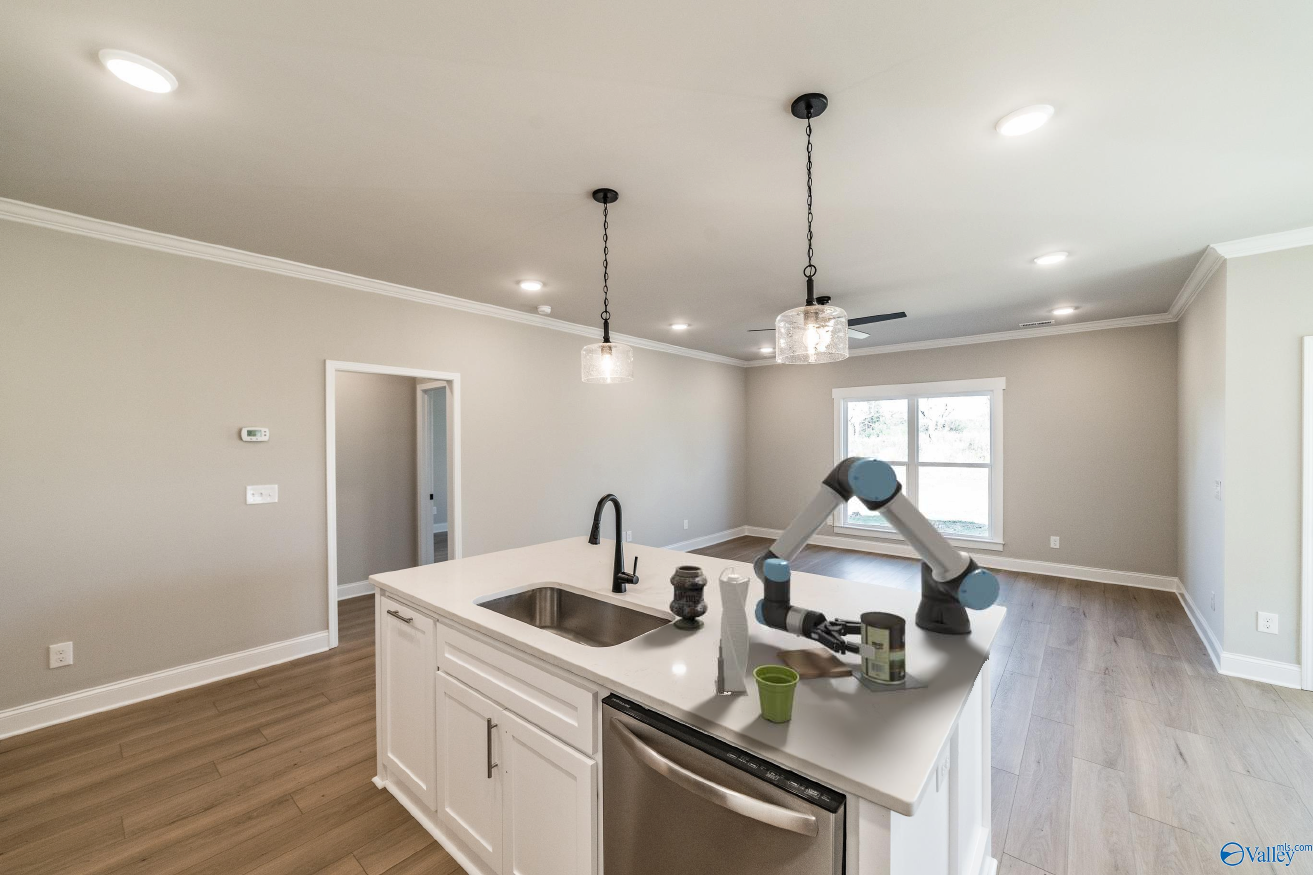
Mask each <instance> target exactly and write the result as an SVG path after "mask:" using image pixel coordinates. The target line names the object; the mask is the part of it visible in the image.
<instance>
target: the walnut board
mask: <svg viewBox="0 0 1313 875" xmlns="http://www.w3.org/2000/svg"><path fill="white" fill-rule="evenodd" d="M776 657H778V660H779V659H780V661H781V662H782V663H783V664H784V665H785V667H786V668H789V669H792V670H794V671H795V672H796V673H797V674H798V675H799V680H803V679H816V678H826V677H827V678H828V677H829V678H831V677H840V676H853V675H852V669H851V668H849V667H848V666H847V665H848V664H846V663H844V661H842V660H841V659H840V658H839V657H837V656H836V655H835V654H834V653H832V652H831V650H829V649H828V648H827V647H819V648H818V647H817V648H803V649H790V650H777V651H776Z"/></svg>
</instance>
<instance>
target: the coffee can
mask: <svg viewBox="0 0 1313 875" xmlns="http://www.w3.org/2000/svg"><path fill="white" fill-rule="evenodd" d="M859 616H860V617H859V618H860V621H861V635H860V643H862V644H865V645H869V646H872V647H875V659H870V658H866V657H863V656H861V658H860V659H861V662H860V664H861V673H862V675H863V676H864V677H865V678H867V679H869V680H871V681H874V682H877V683H882V684H889V685H890V684H891V685H894V684H901V683H904V682H905V681H906V672H907V668H906V667H907V666H906V665H907V664H906V663H907V662H906V624H907V621H906V619H905V618H904V617H902V616H900V615H897V614H894V613H890V612H883V611H867V612H863V613H861V614H860V615H859Z"/></svg>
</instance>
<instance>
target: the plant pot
mask: <svg viewBox="0 0 1313 875" xmlns="http://www.w3.org/2000/svg"><path fill="white" fill-rule="evenodd" d="M752 674H753V677H754V679H755V683H756V686H757V689H758V695H759V703H760V710H761V716H762V717H763V718H764V719H765V720H770V721H771V722H774V723H786V722H788V720H790V719H791V718H792V716H793V715H792V712H793V706H794V698H795V692H796V688H797V684H798V682H799V681H800V679H799V675H798V674H797V673H796V672H795V671H794V670H792V669H789V668H788V667H787V666H782V665H775V664H773V665H771V664H769V665H761V666H759V667H756V668H755V669H754V670H753V672H752Z"/></svg>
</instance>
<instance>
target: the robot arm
mask: <svg viewBox="0 0 1313 875" xmlns="http://www.w3.org/2000/svg"><path fill="white" fill-rule="evenodd" d="M897 477H898V476H897V474H896V472H895V469H894V468H893V467H892V465H890V464H889V463H888V462H886V461H884V460H882V459H879V458H878V457H877V458H876V457H874V456H873V457H871V456H867V457H862V456H849V457H846V458H844V459H842V460H841V461H839V463H837V464H836V465H835V466H834V468H832V470H830V472H829V473H828V475H827V476H826V477H825V478H824V479H823V481H822V482H820V489H819V490H818V492H816V494H815V495H814V496H813V497H812V498H811V500H810V501H808V503H807V504H806V505H805V507H804V508H803V509H801V511H800V512H799V513H798V515H797V516H796V517H795V518H794V519H793V520H792V522H791V523H789V525H788V526H787V528H786V529H785V530H784V531H783V532H782V533H781V534H780V536H779V537H778V538H777V539H776V540H775V542H774V543H772V545H771V546H770V547H769V549H767V550H766V552H765V553H764V554H761V555H758V556H757V557H756V558H755V559H754V560H753V565H752V568H753V571H754V573H755V576H756V577H757V579H759V581H761V583H762V585H763V597H762V598H760V599H758V601H757V602H756V604H755V609H754V617H755V619H756V621H757V623H759V624H760V625H763V626H765V627H768V628H769V629H774V630H777V631H778V630H779V631H780V632H781V631H782V632H785V633H789V634H792V635H794V636H796V637H797V638H800V637H802V638H805V639H807V640H810V641H813V642H817V643H819V644H821V645H822V646H823V647H824V648H826V649H828V650H829V651H832V652H834V653H836V654H840V655H842V656H845V655H847V653H850V654H854V655H858V656H863V657H866V658H870V659H875V647H872V646H869V645H865V644H862V643H861V642H858V641H855V640H851V639H847V640H845V639H844V638H843V637H846V636H847V635H852V636H854V635H855V636H861V620H850V619H843V618H838V617H835V618H834V620H827V618H826V616H825V614H824V613H823V612H820V611H817V610H816V611H815V610H812V609H811V610H810V609H808V608H805V607H801V606H796V605H793V604H791V577H792V576H791V575H792V572H791V564H790V563H791V562H792V561H793V560H794V559H795V558H796V556H798V554H799V553H800V552H801V551H802V549H804V547H805V546H806V545H808V543H809V541H810V540H812V538H813V537H814V536H815V535H816V534H817V533H818V531H819V530H820V529H821V527H823V526H824V524H825V523H826V522H827V521H828V520H829V519H830V518H831V516H832V515H833V514H834V513H835V512H836V510H837V509H839V507H840V506H842V505H846V504H847V503H848V502H849V501H850V500H851V499H852V498H854V497H856V499H858V501H859V502H861V503H862V504H863V506H865V507H866V509H867V510H868V511H870V512H878V513H879V515H880V516H881V517H882V518H883V519H884V520H885V521H886V522H887V523H888V524H889V525H890V526H891V527H892V529H894V531H896V532H897V534H898V535H899V536H901V537H902V539H903V540H904V541H905V542H906V543H907V545H909V547H911V549H913V550H914V551H915V553H916V554H917V555H918V556H919V557H920V582H921V584H920V585H921V586H920V588H921V590H920V591H921V595H920V597H921V599H920V601H919V604H918V607H917V611H916V613H915V619H914V620H915V623H917V624H916V625H917V626H919V627H921V628H924V629H926V630H928V631H932V632H936V633H940V634H941V633H942V634H953V635H961V634H962V635H963V634H968V633H969V632H970V631H971V620H970V619H969V618H970V617H969V614H968V612H967V609H971V610H973V611H985V610H987V609H989V608H991V607H992V606H993V605H994V604H995V603H996V602H997V600H998V599H999V596H1000V589H1001V588H1000V587H1001V586H1000V582H999V579H998V578H997V576H995V574H993V573H992V572H991V571H989V570H988V569H985V568H983V567H981V566H980V565H979V564H978V563H977V562H976V561H975V560H974V559H973V558H972V557H971V556H970V555H969V554H968V553H967V552H965V551H961V550H960V551H958V550H957V548H955V547H954V546H953V545H952V544H951V543H950V542H949V541H948V539H947V538H946V537H945V536H944V535H942V533H941V532H940V531H939V530H938V529H937V528H936V527H935V526H934V525H933V523H931V522H930V520H928V518H926V516H925V515H924V514H923V513H922V512H921V511H920V510H919V509H918V508H917V507H916V506H915V505H914V504H913V503H912V502H911V500H910V499H909V498H908V497H907V496H906V495H905V494H904V493H903V484H902V483H901V482H900V481H899V480H898V478H897ZM966 608H967V609H966Z"/></svg>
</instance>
